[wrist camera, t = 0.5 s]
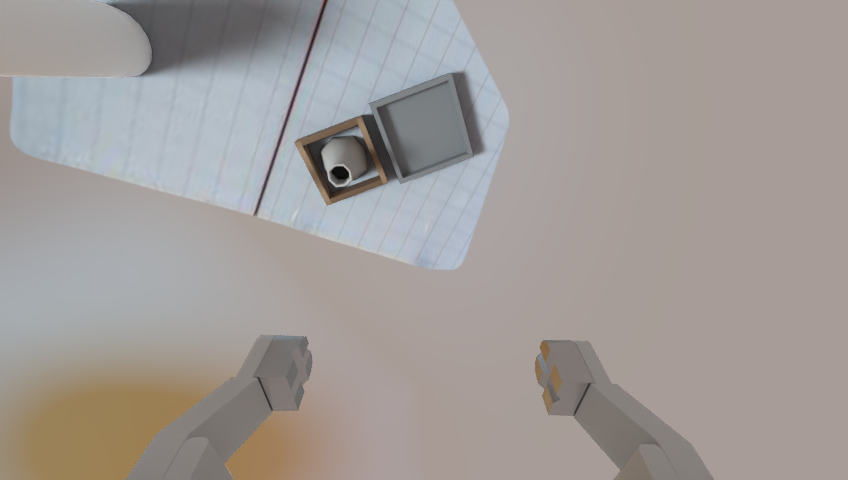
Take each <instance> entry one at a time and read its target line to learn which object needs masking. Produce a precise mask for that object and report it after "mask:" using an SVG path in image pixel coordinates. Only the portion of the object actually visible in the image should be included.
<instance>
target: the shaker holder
mask: <svg viewBox="0 0 848 480" xmlns="http://www.w3.org/2000/svg"><path fill="white" fill-rule="evenodd" d="M356 125H359V127H360V130H361V132H362V134H363V137H364V139H365V142H366V144H367V146H368V149H369V151H370V154H371V156H372V159H373V161H374V163H375V166H376V168H377V171H378V173H379V175H378V176H376V177H373V178H370V179H368V180H365V181H362V182H360V183H357V184H355V185H352V186H349V187H347V188H344V189H341V190H339V191H336V192H333V193H331V192H330V190H329V188H328V186H327V184H326V182H325V180H324V178H323V176H322V174H321V172H320V170H319V168H318V166H317V164H316V162H315V160H314V158H313V156H312V154H311V152H310V150H309V148H308V146H307V144H309V143H312V142H314V141H317V140H319V139H322V138H325V137H327V136H330V135H333V134H335V133H338V132H340V131H343V130H346V129H348V128H351V127H353V126H356ZM294 143H295V145H296V147H297V149H298V151H299V153H300V154H301V156H302V158H303V160H304V162H305V164H306V166H307V168H308V170H309V172H310V174H311V176H312V178H313V180H314V181H315V183H316V185H317V187H318V189H319V191H320V193H321V195H322V197H323V199H324V201H325V203H326V205H330V204H333V203H335V202H338V201H340V200H343V199H346V198H348V197H351V196H354V195H356V194H359V193H362V192H364V191H367V190H369V189H372V188H375V187H377V186H380V185H383V184H385V183H388V180H387V176H386V174H385V171H384V169H383V166H382V164H381V161H380V159H379V156H378V154H377V151H376V149H375V146H374V144H373V142H372V139H371V137H370V134H369V132H368V129H367V127H366V124H365V122H364V119H363V117H362V115H360V116H358V117H355V118H352V119H350V120H347V121H345V122H342V123H339V124H337V125H334V126H332V127H329V128H326V129H324V130H321V131H318V132H316V133H313V134H311V135H308V136H305V137H303V138H300V139H298V140H297V141H296V142H294Z"/></svg>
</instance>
